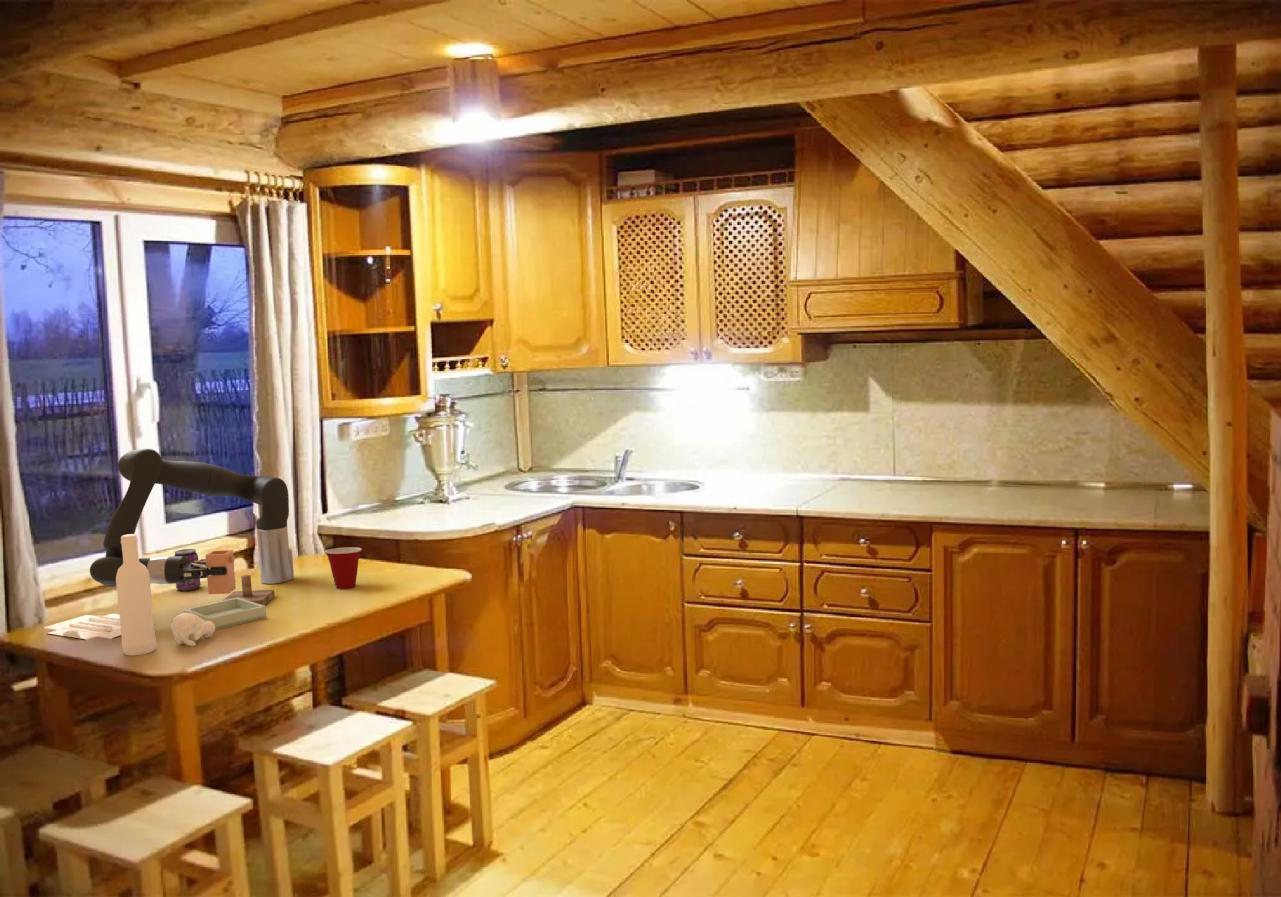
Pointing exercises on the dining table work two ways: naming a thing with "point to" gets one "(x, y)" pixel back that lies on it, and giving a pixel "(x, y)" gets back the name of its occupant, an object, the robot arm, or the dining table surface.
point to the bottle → (134, 601)
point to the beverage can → (192, 557)
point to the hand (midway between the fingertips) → (229, 568)
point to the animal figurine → (190, 628)
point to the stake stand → (251, 592)
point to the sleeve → (221, 582)
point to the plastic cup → (344, 566)
